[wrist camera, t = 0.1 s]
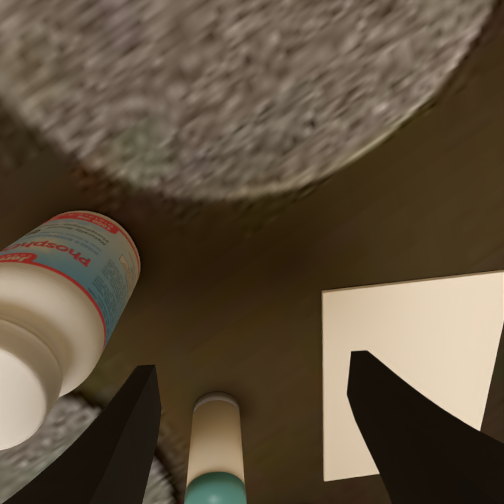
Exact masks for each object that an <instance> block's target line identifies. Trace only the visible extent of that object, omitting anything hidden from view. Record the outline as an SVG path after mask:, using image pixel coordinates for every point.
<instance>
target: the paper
mask: <svg viewBox="0 0 504 504" xmlns="http://www.w3.org/2000/svg"><path fill="white" fill-rule="evenodd" d="M503 322H504V270H498V271H489V272H481V273H472V274H463V275H454V276H446V277H437V278H428V279H420V280H411V281H402V282H393V283H385V284H376V285H367V286H359V287H350V288H341V289H332V290H324V291H322V391H323V479H324V481H331V480H338V479H345V478H352V477H359V476H366V475H373V474H380V473H379V471H378V469H377V467H376V465H375V463H374V460H373V458H372V456H371V454H370V452H369V450H368V448H367V446H366V443H365V441H364V439H363V437H362V435H361V433H360V430H359V428H358V426H357V424H356V422H355V419H354V416H353V413H352V410H351V407H350V404H349V401H348V397H347V385H348V376H349V366H350V357H351V351H362V350H367V351H369V352H370V353H371V354H373V355H374V356H375V357H376V358H377V359H379V360H380V361H381V362H382V363H383V364H385V365H386V366H387V367H388V368H389V369H391V370H392V371H393V372H394V373H395V374H397V375H398V376H399V377H400V378H402V379H403V380H404V381H405V382H407V383H408V384H409V385H411V386H412V387H413V388H414V389H416V390H417V391H418V392H420V393H421V394H422V395H424V396H425V397H427V398H428V399H429V400H431V401H432V402H434V403H435V404H437V405H438V406H439V407H441V408H442V409H444V410H445V411H447V412H449V413H450V414H452V415H453V416H455V417H457V418H458V419H460V420H461V421H463V422H465V423H466V424H468V425H470V426H471V427H473V428H475V429H477V430H478V431H480V428H481V423H482V419H483V414H484V409H485V405H486V400H487V396H488V391H489V386H490V382H491V377H492V373H493V368H494V363H495V359H496V354H497V350H498V345H499V340H500V336H501V331H502V327H503Z"/></svg>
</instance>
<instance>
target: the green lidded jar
mask: <svg viewBox="0 0 504 504" xmlns="http://www.w3.org/2000/svg"><path fill="white" fill-rule="evenodd" d="M184 504H247V502H246V488H245V485H244V470H243V456H242V441H241V426H240V411H239V404H238V402H237V400H236V399H235V398H234V397H233V396H231V395H230V394H227V393H224V392H210V393H207V394H205V395H203V396H201V397H200V398H199V399H198V400H197V401H196V402H195V404H194V407H193V418H192V430H191V442H190V453H189V465H188V477H187V488H186V491H185V501H184Z"/></svg>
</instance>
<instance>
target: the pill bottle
mask: <svg viewBox="0 0 504 504" xmlns="http://www.w3.org/2000/svg"><path fill="white" fill-rule="evenodd" d="M139 274H140V257H139V254H138V251H137V248H136V246H135V244H134V242H133V240H132V239H131V237H130V236H129V234H128V233H127V232H126V231H125V230H124V228H122V227H121V226H120V225H119V224H118V223H117V222H115V221H114V220H112V219H111V218H108V217H106V216H104V215H102V214H99V213H95V212H90V211H70V212H65V213H62V214H59V215H57V216H55V217H53V218H51V219H50V220H48V221H46V222H45V223H43V224H42V225H40V226H39V227H37V228H36V229H34V230H32V231H31V232H29V233H28V234H26V235H25V236H23V237H22V238H20V239H19V240H17V241H16V242H14V243H13V244H11V245H10V246H8V247H7V248H5V249H4V250H2V251H1V252H0V450H4V449H7V448H10V447H13V446H15V445H18V444H20V443H22V442H23V441H25V440H27V439H28V438H29V437H30V436H32V435H33V434H34V433H35V432H36V431H37V430H38V429H39V427H40V426H41V425H42V423H43V422H44V420H45V419H46V417H47V415H48V413H49V412H50V410H51V409H52V407H53V406H54V405H55V403H56V402H57V399H58V397H60V396H63V395H65V394H67V393H68V392H70V391H72V390H73V389H75V388H76V387H77V386H79V385H80V384H81V383H82V382H83V381H84V380H85V379H86V378H87V377H88V376H89V375H90V373H91V372H92V370H93V369H94V367H95V365H96V364H97V362H98V360H99V358H100V356H101V354H102V352H103V350H104V348H105V346H106V344H107V342H108V340H109V338H110V336H111V334H112V332H113V330H114V328H115V326H116V324H117V322H118V320H119V318H120V316H121V314H122V312H123V310H124V308H125V306H126V304H127V302H128V300H129V298H130V296H131V294H132V292H133V290H134V288H135V286H136V283H137V281H138V278H139Z"/></svg>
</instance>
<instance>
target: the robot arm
mask: <svg viewBox="0 0 504 504" xmlns="http://www.w3.org/2000/svg"><path fill="white" fill-rule="evenodd" d="M347 397H348V401H349V404H350V407H351V410H352V413H353V416H354V419H355V422H356V424H357V426H358V428H359V430H360V433H361V435H362V437H363V439H364V441H365V443H366V446H367V448H368V450H369V452H370V454H371V456H372V458H373V460H374V463H375V465H376V467H377V469H378V471H379V473H380V475H381V477H382V480H383V482H384V484H385V487H386V489H387V491H388V494H389V496H390V499H391V502H392V504H504V444H503V443H501V442H499V441H497V440H495V439H493V438H492V437H490V436H488V435H486V434H484V433H482V432H480V431H478V430H477V429H475V428H473V427H471V426H470V425H468V424H466V423H465V422H463V421H461V420H460V419H458V418H457V417H455V416H453V415H452V414H450V413H449V412H447V411H445V410H444V409H442V408H441V407H439V406H438V405H437V404H435V403H434V402H432V401H431V400H429V399H428V398H427V397H425V396H424V395H422V394H421V393H420V392H418V391H417V390H416V389H414V388H413V387H412V386H411V385H409V384H408V383H407V382H405V381H404V380H403V379H402V378H400V377H399V376H398V375H397V374H395V373H394V372H393V371H392V370H391V369H389V368H388V367H387V366H386V365H385V364H383V363H382V362H381V361H380V360H379V359H377V358H376V357H375V356H374V355H373V354H371V353H370V352H369V351H367V350H362V351H351V357H350V366H349V376H348V385H347ZM160 417H161V402H160V395H159V388H158V381H157V374H156V367H155V365H141V366H137V367H136V368H135V369H134V371H133V372H132V373H131V375H130V376H129V378H128V379H127V380H126V382H125V383H124V384H123V386H122V387H121V388H120V390H119V391H118V392H117V393H116V395H115V396H114V397H113V399H112V400H111V401H110V402H109V403H108V405H107V406H106V407H105V408H104V410H103V411H102V412H101V413H100V414H99V416H98V417H97V418H96V419H95V420H94V421H93V422H92V423H91V425H90V426H89V427H88V428H87V429H86V430H85V431H84V432H83V433H82V434H81V436H80V437H79V438H78V439H77V440H76V441H75V442H74V443H73V444H72V445H71V446H70V447H69V448H68V449H67V450H66V451H65V452H64V453H63V454H62V455H61V456H59V457H58V458H57V459H56V460H55V461H54V462H53V463H52V464H51V465H49V466H48V467H47V468H46V469H45V470H44V471H42V472H41V473H40V474H39V475H38V476H37V477H35V478H34V479H33V480H32V481H31V482H30V483H28V484H27V485H26V486H25V487H23V488H22V489H21V490H20V491H18V492H17V493H16V494H14V495H13V496H12V497H11V498H9V499H8V500H6V501H5V502H4V503H2V504H142V502H143V497H144V493H145V489H146V485H147V481H148V477H149V473H150V468H151V464H152V460H153V456H154V452H155V448H156V443H157V439H158V433H159V425H160Z"/></svg>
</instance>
